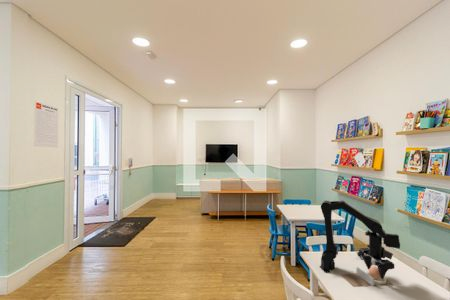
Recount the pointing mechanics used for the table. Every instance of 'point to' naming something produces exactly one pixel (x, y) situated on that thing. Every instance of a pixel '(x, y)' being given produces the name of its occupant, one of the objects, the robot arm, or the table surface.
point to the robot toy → (371, 259)
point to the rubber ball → (374, 273)
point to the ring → (379, 280)
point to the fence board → (362, 279)
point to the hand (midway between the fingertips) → (375, 273)
